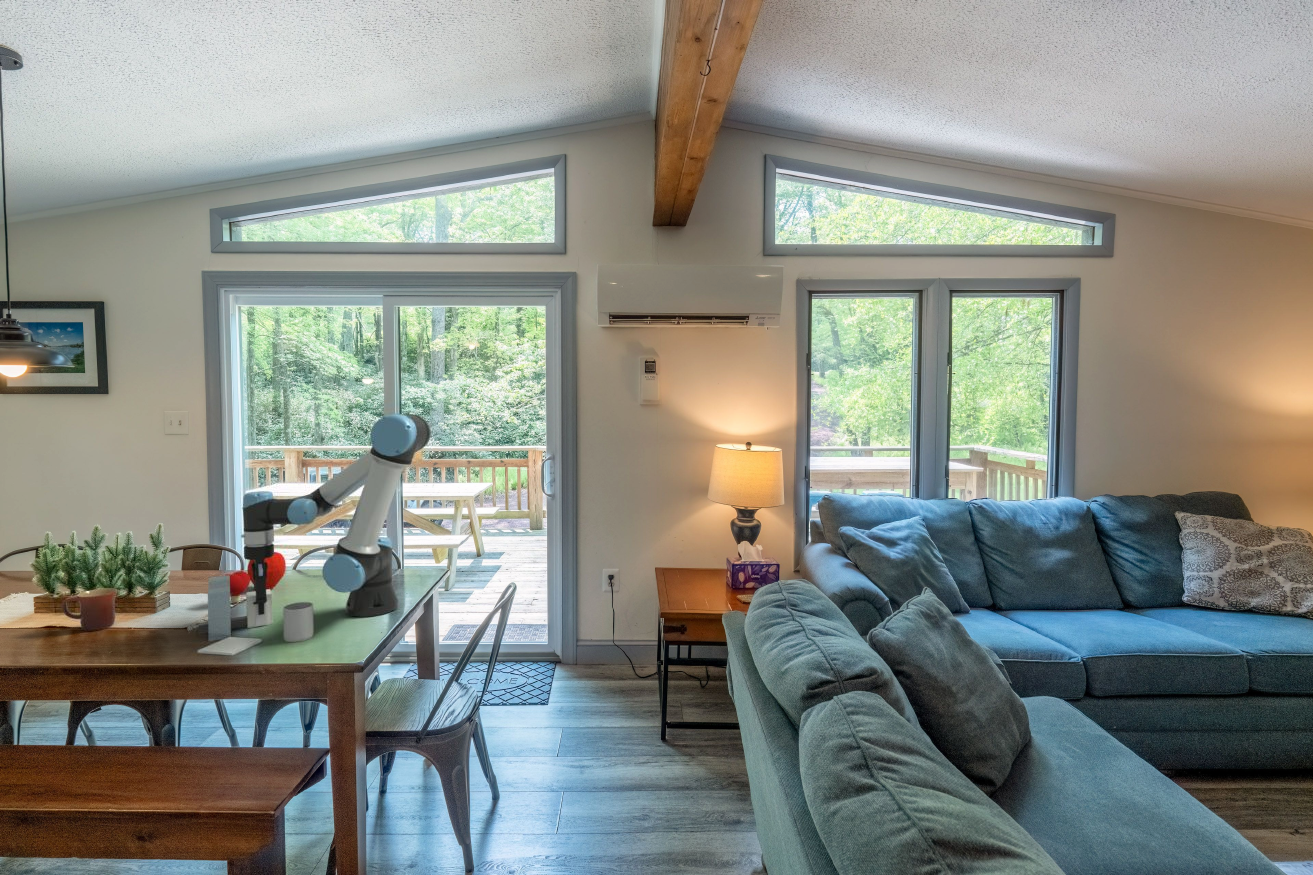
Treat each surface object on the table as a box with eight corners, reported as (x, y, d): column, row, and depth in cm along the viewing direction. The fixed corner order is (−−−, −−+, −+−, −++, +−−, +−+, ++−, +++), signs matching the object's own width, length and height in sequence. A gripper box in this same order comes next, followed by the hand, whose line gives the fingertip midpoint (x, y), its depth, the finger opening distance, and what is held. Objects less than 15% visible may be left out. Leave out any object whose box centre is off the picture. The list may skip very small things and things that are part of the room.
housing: (230, 617, 190) (229, 575, 189) (230, 637, 173) (230, 591, 173) (210, 620, 187) (209, 577, 186) (208, 641, 170) (207, 594, 170)
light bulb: (232, 608, 199) (231, 577, 198) (213, 606, 200) (213, 575, 200) (256, 599, 208) (256, 569, 207) (238, 598, 209) (238, 568, 209)
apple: (293, 587, 222) (293, 550, 221) (257, 596, 212) (257, 556, 211) (276, 582, 228) (275, 546, 228) (240, 590, 218) (240, 552, 218)
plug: (198, 635, 174) (197, 603, 174) (198, 629, 179) (198, 598, 179) (272, 623, 185) (271, 593, 184) (270, 618, 189) (270, 589, 189)
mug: (122, 620, 186) (121, 586, 186) (113, 630, 178) (112, 594, 178) (69, 626, 180) (68, 591, 180) (57, 636, 173) (56, 599, 172)
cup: (281, 643, 169) (281, 611, 169) (287, 631, 178) (287, 600, 178) (311, 640, 172) (311, 608, 172) (316, 628, 181) (315, 598, 181)
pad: (261, 641, 171) (261, 639, 171) (232, 655, 161) (231, 653, 161) (229, 638, 172) (229, 636, 172) (197, 652, 162) (197, 650, 162)
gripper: (242, 540, 190) (244, 615, 191) (244, 551, 175) (246, 633, 175) (271, 537, 194) (273, 610, 195) (276, 548, 179) (278, 628, 180)
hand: (260, 621), depth 185 cm, fingers closed on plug, 6 cm apart
